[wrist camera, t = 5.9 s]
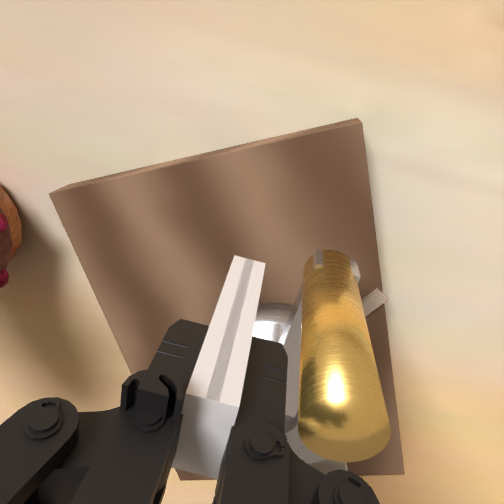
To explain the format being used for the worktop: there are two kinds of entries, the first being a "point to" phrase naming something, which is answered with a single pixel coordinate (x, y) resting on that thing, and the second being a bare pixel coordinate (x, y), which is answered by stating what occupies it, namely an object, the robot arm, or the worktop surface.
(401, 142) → the worktop surface
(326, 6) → the worktop surface
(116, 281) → the stand
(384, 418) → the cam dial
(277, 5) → the worktop surface
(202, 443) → the robot arm
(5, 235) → the mug
